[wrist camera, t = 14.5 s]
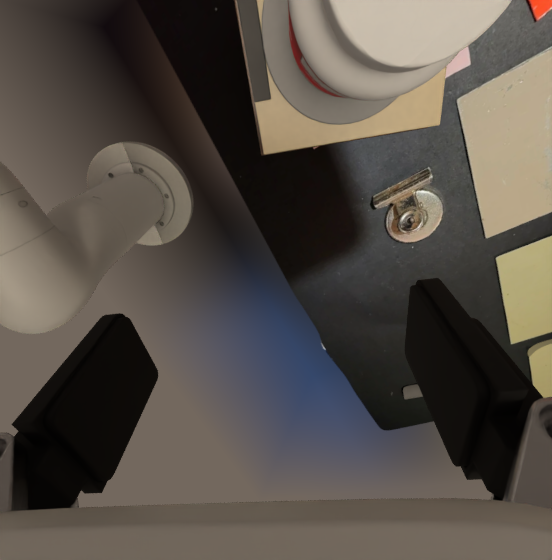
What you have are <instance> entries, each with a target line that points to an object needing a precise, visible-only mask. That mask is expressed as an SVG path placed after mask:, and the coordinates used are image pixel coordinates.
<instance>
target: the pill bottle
mask: <svg viewBox="0 0 552 560" xmlns="http://www.w3.org/2000/svg"><path fill="white" fill-rule="evenodd" d="M511 1H512V0H288V13H289V37H290V44H291V49H292V52H293V56H294V59H295V61H296V64H297V66H298V68H299V69H300V71H301V73H302V74H303V75H304V77H305V78H306V79H307V81H308V82H309V83H311V84H312V85H313V86H314V87H315V88H317V89H318V90H320V91H322V92H324V93H326V94H329V95H332V96H336V97H343V98H352V99H358V100H366V101H367V100H369V101H377V100H384V99H389V98H393V97H397V96H400V95H403V94H406V93H408V92H410V91H412V90H414V89H416V88H418V87H419V86H421V85H423V84H425V83H426V82H427V81H429V80H430V79H432V78H433V77H434V76H435V75H437V74H438V73H439V72H440V71H441V70H442V69H444V68H445V67H446V66H447V65H448V64H449V63H450V62H451V61H452V59H453V58H454V57H455V56H456V55H457V54H458V53H459V51H461V50H463V49H464V48H465V47H467V46H468V45H470V44H471V43H472V42H473V41H475V40H476V39H477V38H479V37H480V36H481V35H482V34H483V33H484V32H485V31H486V30H487V29H488V28H489V27H490V26H491V25H492V24H493V23H494V22H495V21H496V20H497V19H498V17H499V16H500V15H501V14H502V13H503V11H504V10H505V9H506V8H507V7H508V5H509V4H510V2H511Z"/></svg>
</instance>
